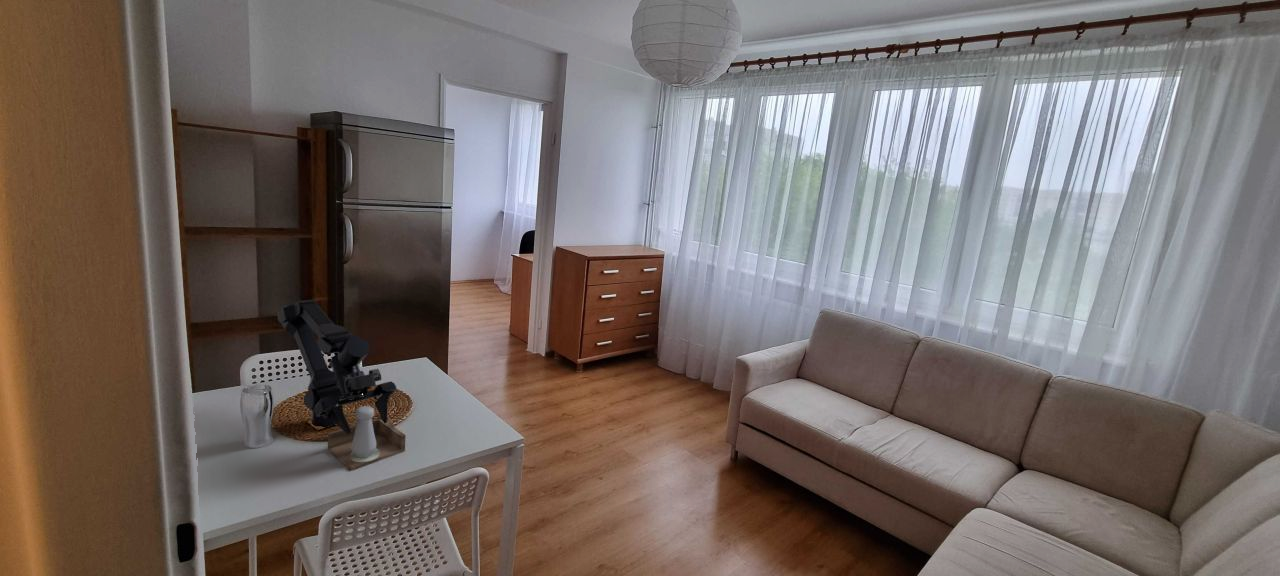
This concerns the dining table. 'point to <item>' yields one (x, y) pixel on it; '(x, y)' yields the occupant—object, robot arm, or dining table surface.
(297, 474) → the dining table surface
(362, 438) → the salt shaker
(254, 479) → the dining table surface
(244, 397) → the beer glass
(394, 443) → the corner tray
